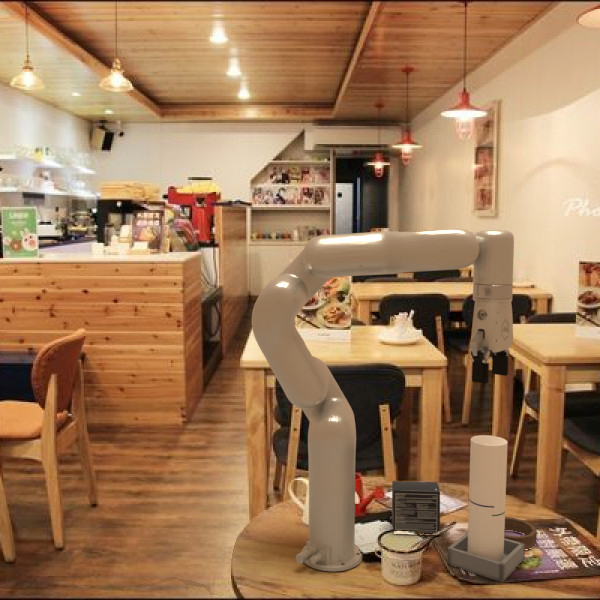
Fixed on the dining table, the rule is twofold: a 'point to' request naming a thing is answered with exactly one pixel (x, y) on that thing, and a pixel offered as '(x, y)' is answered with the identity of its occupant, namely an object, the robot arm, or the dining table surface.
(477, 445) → the cylindrical container
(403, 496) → the small box
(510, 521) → the collar
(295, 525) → the dining table surface
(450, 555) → the tray
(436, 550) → the dining table surface
